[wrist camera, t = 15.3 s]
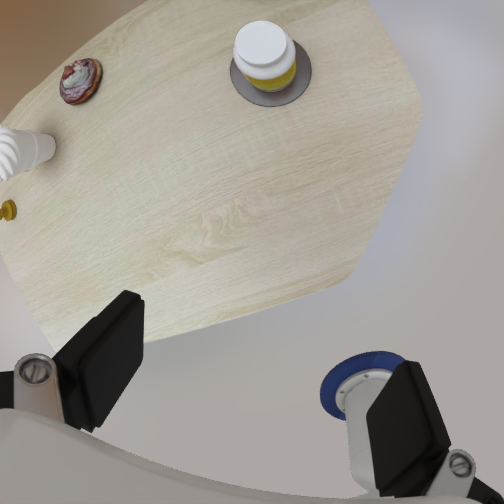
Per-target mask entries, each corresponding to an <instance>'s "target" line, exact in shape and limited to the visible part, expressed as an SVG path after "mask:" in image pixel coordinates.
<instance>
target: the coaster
mask: <svg viewBox="0 0 504 504" xmlns="http://www.w3.org/2000/svg"><path fill="white" fill-rule="evenodd" d="M292 41H293V40H292ZM293 43H294V45H295V49H296V74H295V77H294V79H293V81H292V82H291V83H290V84H289V85H288V86H287V87H286V88H284V89H282V90H279V91H275V92H266V91H262V90H259V89H257V88H256V87H254V86H253V85H252V84H251V83H250V82H249V81H248V80H247V78H246V77H245V76H244V74H243V73H242V72H241V71H240V69H239V68H238V67H237V65H236V63H235V61H234V57H233V59H232V62H231V66H230V75H231V79H232V82H233V85H234V87H235V88H236V90H237V91H238V92H239V93H240V94H241V95H242V96H243V97H244V98H245V99H247V100H248V101H250V102H252V103H254V104H257V105H261V106H266V107H275V106H281V105H285V104H288V103H290V102H292V101H294V100H295V99H297V98H298V97H299V96H300V95H301V94H302V93H303V92H304V91H305V89H306V88H307V86H308V84H309V81H310V78H311V63H310V60H309V57H308V55H307V53H306V52H305V50H304V49H303V48H302V47H301V46H300V45H299V44H298V43H296V42H295V41H293Z"/></svg>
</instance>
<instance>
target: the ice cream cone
mask: <svg viewBox="0 0 504 504" xmlns="http://www.w3.org/2000/svg"><path fill="white" fill-rule="evenodd" d="M55 150H56V143H55V140H54V138H53V137H52V136H50V135H47V134H42V133H37V132H33V131H31V130H16V129H11V128H9V127H6V126H0V183H1V182H2V180H5V181H8V179H9V177H14V176H16V175H17V174H19V173H22V172H26V171H29V170H31V169H32V168H33V167H35V166H37V165H39V164H41V163H43V162H45V161H47V160H49V159H51V158H52V157H53V155H54V153H55Z"/></svg>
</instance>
